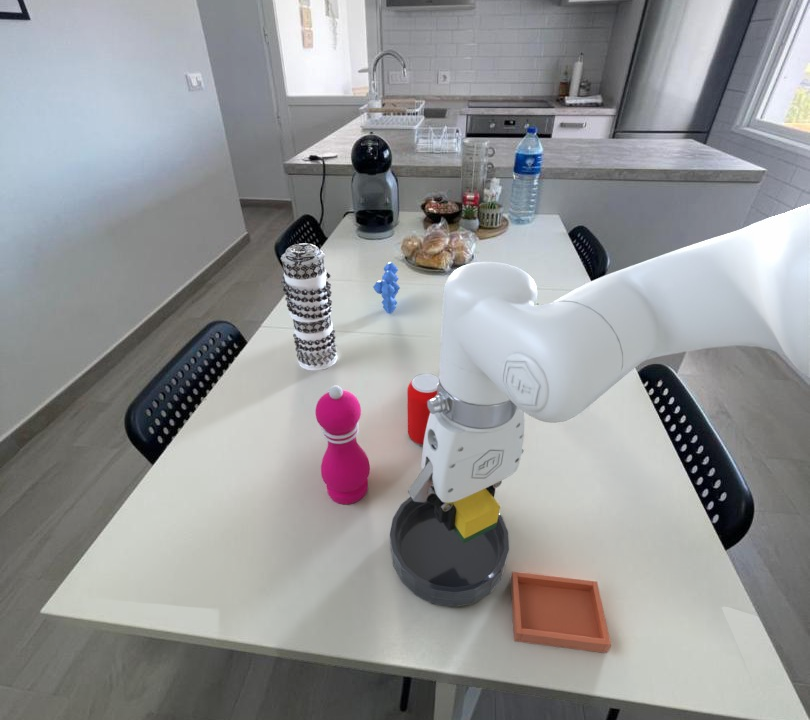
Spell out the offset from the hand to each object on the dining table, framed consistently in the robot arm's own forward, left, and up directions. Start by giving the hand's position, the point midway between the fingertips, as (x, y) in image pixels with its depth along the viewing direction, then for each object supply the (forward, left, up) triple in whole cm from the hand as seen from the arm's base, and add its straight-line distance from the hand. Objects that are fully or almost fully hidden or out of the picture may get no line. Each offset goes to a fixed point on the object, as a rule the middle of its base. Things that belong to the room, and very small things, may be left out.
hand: (463, 510), depth 53 cm
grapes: (+66, -22, -11) cm, 70 cm away
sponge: (0, 0, 0) cm, 0 cm away
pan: (+2, 0, -11) cm, 11 cm away
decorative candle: (+53, +1, -11) cm, 54 cm away
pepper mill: (+18, +8, -11) cm, 22 cm away
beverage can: (+22, -8, -11) cm, 25 cm away
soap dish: (-11, -7, -11) cm, 17 cm away
